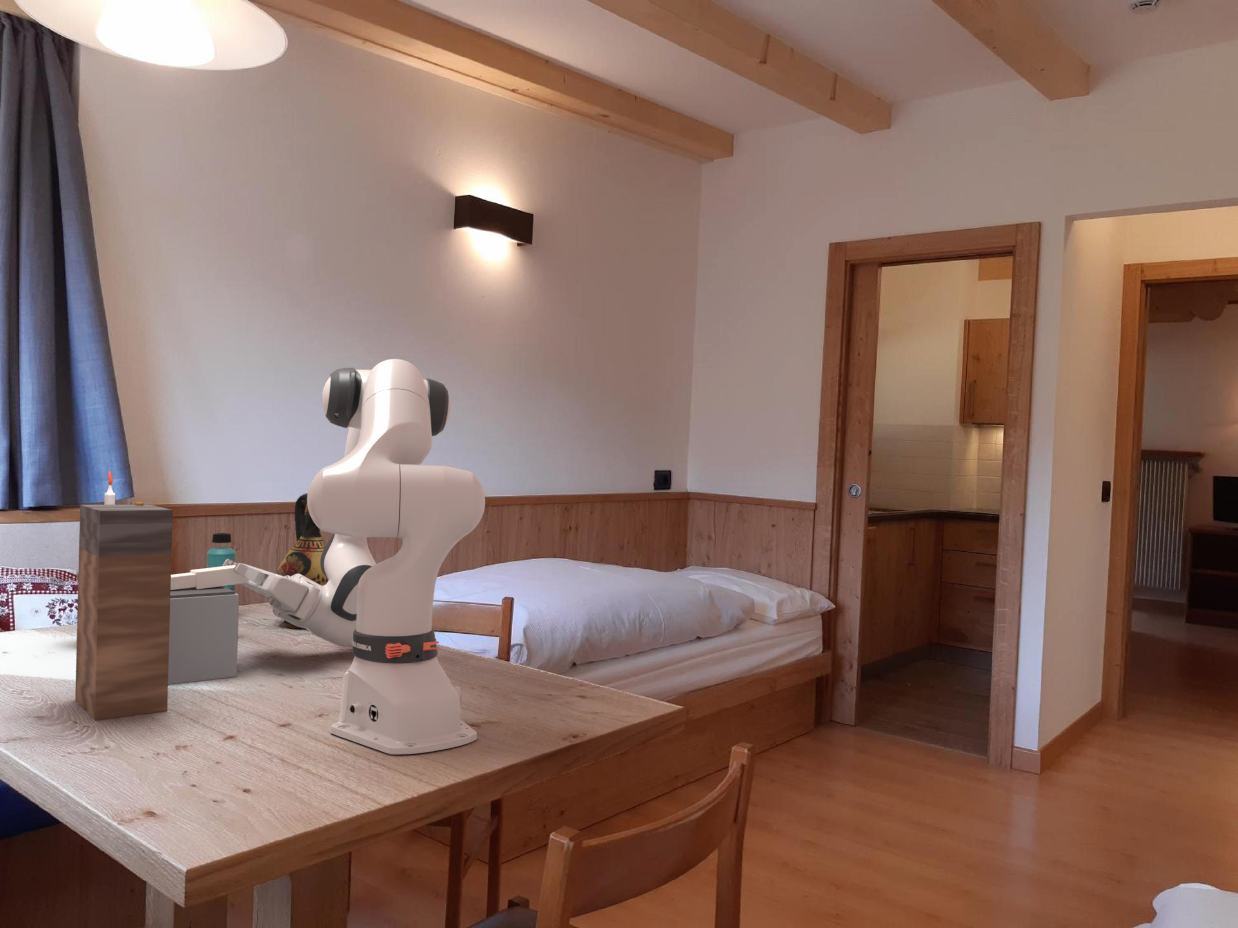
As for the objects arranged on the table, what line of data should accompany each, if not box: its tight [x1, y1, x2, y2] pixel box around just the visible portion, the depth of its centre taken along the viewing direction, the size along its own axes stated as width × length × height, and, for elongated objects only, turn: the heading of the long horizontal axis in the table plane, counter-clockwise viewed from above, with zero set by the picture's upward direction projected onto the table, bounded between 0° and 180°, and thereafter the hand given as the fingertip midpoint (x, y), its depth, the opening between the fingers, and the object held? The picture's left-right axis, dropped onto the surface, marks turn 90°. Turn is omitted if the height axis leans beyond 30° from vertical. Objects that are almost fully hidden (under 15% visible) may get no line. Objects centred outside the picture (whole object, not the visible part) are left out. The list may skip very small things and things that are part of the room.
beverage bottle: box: [206, 532, 236, 591], centre depth 229 cm, size 6×7×20 cm
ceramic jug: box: [275, 492, 328, 630], centre depth 226 cm, size 17×15×30 cm
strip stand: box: [74, 502, 174, 721], centre depth 154 cm, size 14×10×31 cm
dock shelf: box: [168, 586, 240, 685], centre depth 175 cm, size 14×16×15 cm
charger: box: [171, 565, 248, 590], centre depth 177 cm, size 4×16×3 cm, turn 129°
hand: (230, 564), depth 181 cm, fingers open, 5 cm apart
